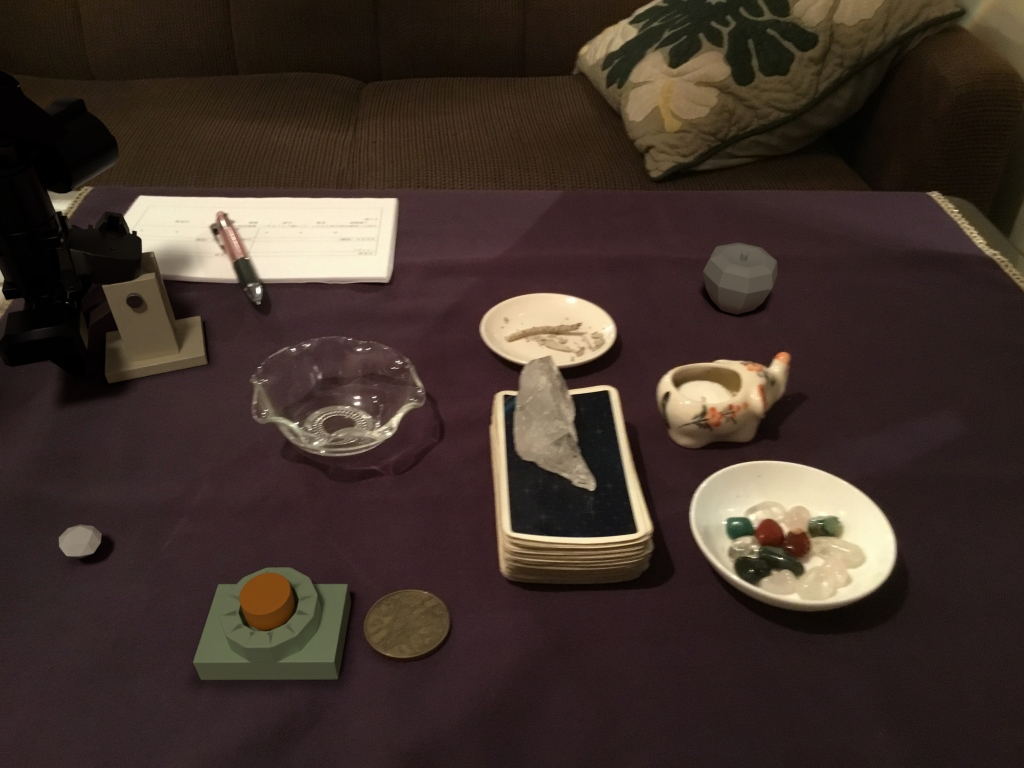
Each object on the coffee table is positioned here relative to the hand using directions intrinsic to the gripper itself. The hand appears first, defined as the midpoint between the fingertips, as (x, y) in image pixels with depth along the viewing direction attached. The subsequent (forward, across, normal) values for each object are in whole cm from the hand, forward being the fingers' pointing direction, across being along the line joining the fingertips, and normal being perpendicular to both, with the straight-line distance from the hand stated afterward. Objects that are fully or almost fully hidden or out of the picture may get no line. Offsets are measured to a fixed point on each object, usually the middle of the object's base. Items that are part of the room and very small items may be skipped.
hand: (81, 363), depth 76 cm
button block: (0, -36, -14) cm, 39 cm away
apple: (+1, -11, -66) cm, 67 cm away
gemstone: (+1, -24, -1) cm, 25 cm away
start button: (-3, -36, -14) cm, 39 cm away
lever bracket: (0, 0, -7) cm, 7 cm away
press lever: (-4, 0, -4) cm, 6 cm away
